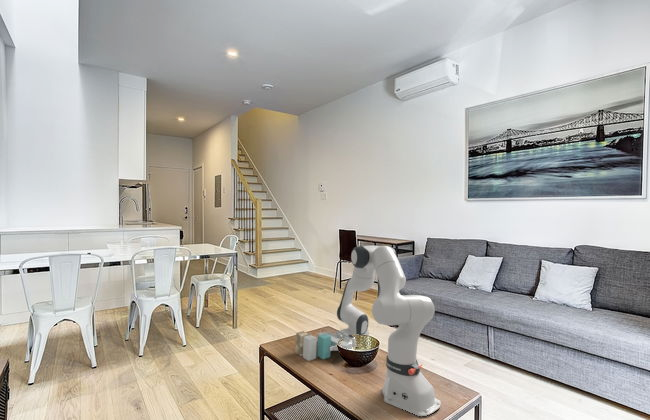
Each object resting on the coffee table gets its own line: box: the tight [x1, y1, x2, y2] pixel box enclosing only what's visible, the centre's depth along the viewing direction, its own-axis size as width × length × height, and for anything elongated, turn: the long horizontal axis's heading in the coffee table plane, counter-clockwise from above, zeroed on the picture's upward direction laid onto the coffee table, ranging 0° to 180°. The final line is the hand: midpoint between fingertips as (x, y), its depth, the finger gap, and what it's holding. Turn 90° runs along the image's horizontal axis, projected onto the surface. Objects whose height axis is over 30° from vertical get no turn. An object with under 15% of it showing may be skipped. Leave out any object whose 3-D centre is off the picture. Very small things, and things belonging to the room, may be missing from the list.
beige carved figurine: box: [295, 331, 310, 357], centre depth 166 cm, size 4×4×10 cm
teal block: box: [316, 334, 331, 360], centre depth 163 cm, size 4×4×10 cm
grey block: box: [302, 334, 318, 362], centre depth 161 cm, size 4×4×10 cm
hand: (322, 345), depth 162 cm, fingers open, 8 cm apart
